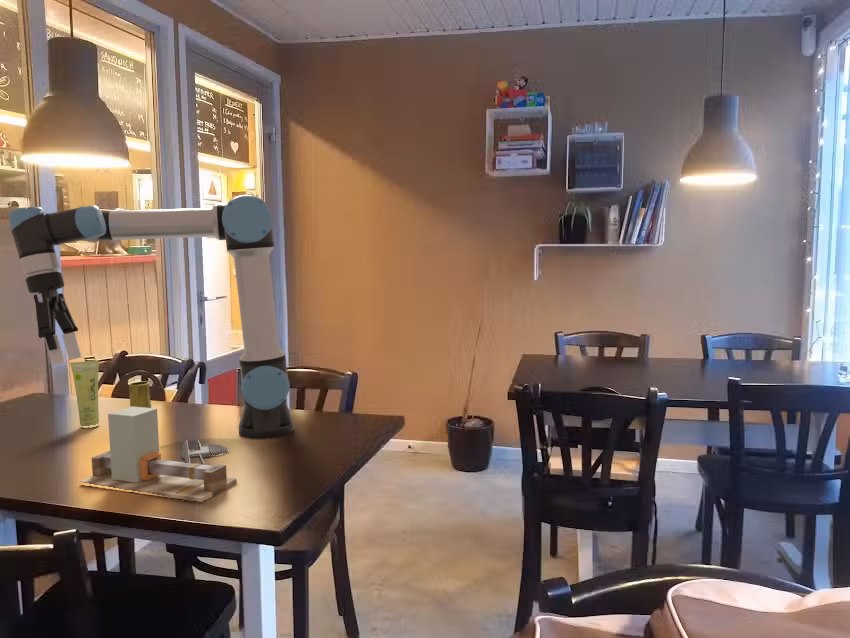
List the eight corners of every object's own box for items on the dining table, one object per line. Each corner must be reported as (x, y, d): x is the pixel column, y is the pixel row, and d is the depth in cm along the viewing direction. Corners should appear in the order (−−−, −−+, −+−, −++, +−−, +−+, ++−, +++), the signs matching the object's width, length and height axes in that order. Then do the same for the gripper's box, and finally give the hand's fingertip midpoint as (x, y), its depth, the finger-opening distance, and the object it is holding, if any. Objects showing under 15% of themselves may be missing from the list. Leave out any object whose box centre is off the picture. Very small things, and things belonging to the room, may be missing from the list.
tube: (85, 430, 188) (80, 363, 185) (74, 428, 190) (69, 362, 188) (103, 425, 192) (99, 360, 190) (92, 423, 195) (88, 359, 193)
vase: (137, 437, 181) (134, 386, 179) (125, 433, 184) (123, 383, 183) (158, 432, 186) (155, 382, 184) (146, 428, 189) (143, 380, 188)
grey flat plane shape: (141, 446, 173) (141, 442, 173) (250, 435, 183) (250, 431, 183) (135, 481, 147) (134, 476, 147) (262, 466, 157) (262, 461, 157)
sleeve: (111, 479, 144) (107, 413, 142) (135, 469, 150) (132, 406, 149) (141, 483, 141) (138, 416, 140) (164, 472, 148) (161, 409, 146)
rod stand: (80, 485, 144) (78, 462, 143) (121, 468, 155) (120, 446, 155) (201, 503, 133) (200, 477, 133) (236, 483, 145) (235, 459, 144)
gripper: (43, 279, 165) (66, 360, 167) (4, 275, 141) (32, 370, 143) (74, 272, 167) (97, 353, 169) (42, 267, 143) (68, 361, 144)
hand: (67, 361), depth 156 cm, fingers open, 13 cm apart
